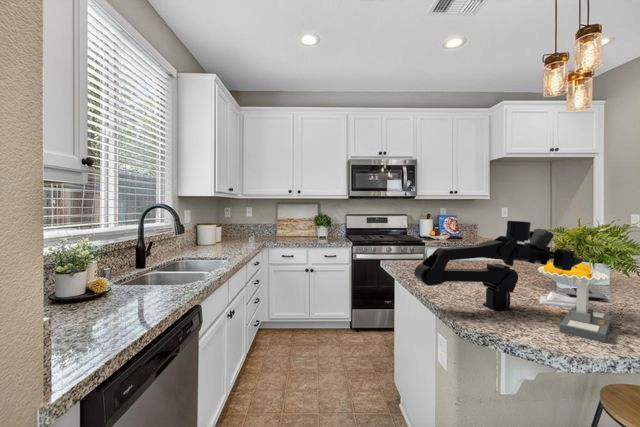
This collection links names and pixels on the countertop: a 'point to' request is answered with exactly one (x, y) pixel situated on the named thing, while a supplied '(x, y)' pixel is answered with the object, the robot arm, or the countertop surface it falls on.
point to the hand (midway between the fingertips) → (569, 258)
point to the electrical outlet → (592, 293)
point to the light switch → (558, 300)
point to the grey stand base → (587, 324)
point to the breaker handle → (582, 296)
